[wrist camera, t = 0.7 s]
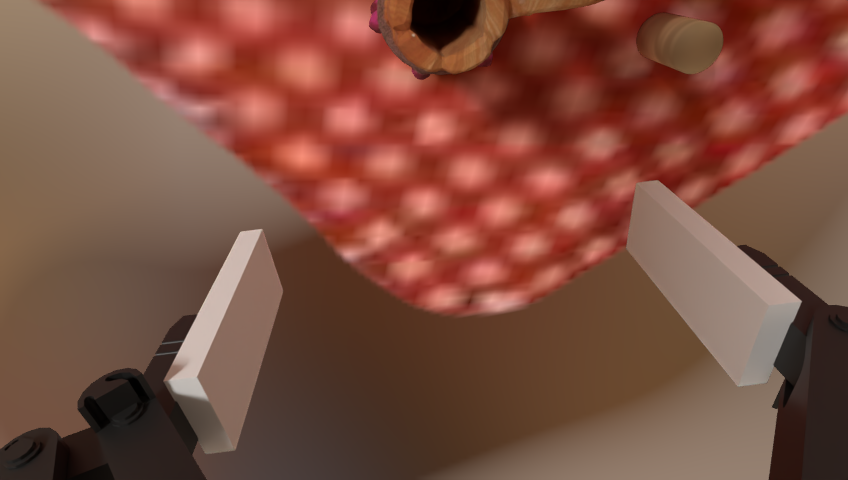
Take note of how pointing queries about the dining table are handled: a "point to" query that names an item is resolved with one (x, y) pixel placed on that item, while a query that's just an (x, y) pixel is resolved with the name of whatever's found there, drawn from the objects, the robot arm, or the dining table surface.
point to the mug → (452, 29)
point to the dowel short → (680, 42)
